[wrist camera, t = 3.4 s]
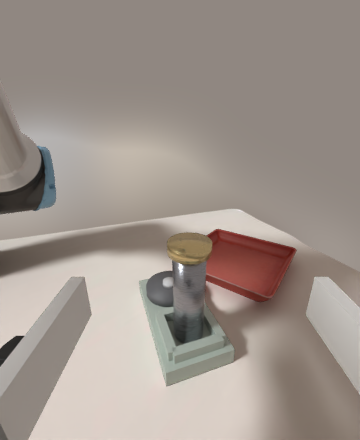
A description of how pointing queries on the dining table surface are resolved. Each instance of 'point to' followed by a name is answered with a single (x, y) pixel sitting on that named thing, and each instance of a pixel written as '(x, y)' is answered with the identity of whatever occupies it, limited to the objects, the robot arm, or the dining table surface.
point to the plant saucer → (247, 264)
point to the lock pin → (189, 283)
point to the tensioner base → (167, 343)
